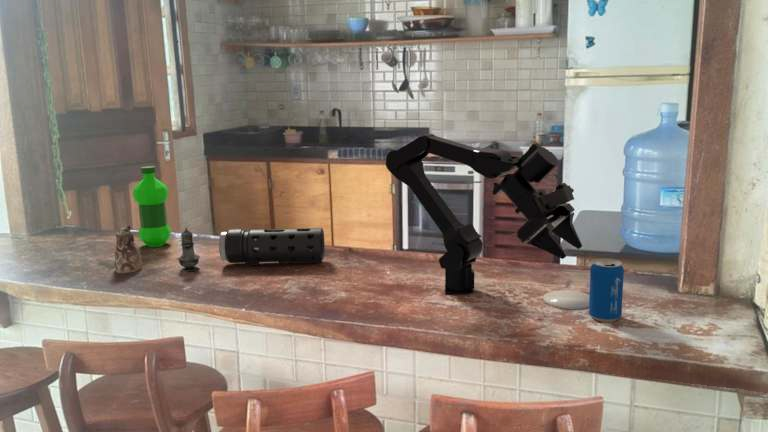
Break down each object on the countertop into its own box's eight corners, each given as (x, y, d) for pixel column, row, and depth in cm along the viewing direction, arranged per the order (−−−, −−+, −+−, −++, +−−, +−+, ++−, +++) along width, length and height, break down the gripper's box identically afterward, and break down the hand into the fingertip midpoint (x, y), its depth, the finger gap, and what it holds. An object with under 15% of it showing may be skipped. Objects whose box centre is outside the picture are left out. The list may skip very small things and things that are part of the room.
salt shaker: (187, 274, 177) (183, 231, 175) (174, 271, 181) (170, 228, 178) (205, 269, 182) (201, 226, 179) (192, 266, 185) (188, 224, 183)
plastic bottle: (162, 249, 205) (154, 169, 200) (132, 248, 207) (123, 169, 202) (179, 241, 214) (171, 165, 209) (150, 240, 217) (142, 164, 212)
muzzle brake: (321, 268, 180) (319, 231, 178) (219, 270, 181) (216, 233, 179) (325, 258, 190) (323, 223, 187) (228, 260, 190) (225, 225, 188)
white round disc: (547, 309, 144) (547, 306, 144) (540, 292, 154) (540, 290, 154) (599, 309, 143) (599, 306, 143) (588, 292, 153) (588, 290, 153)
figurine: (109, 272, 182) (104, 229, 179) (126, 264, 188) (122, 223, 186) (130, 273, 180) (125, 230, 177) (147, 266, 186) (143, 225, 184)
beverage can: (600, 325, 134) (602, 268, 131) (582, 314, 140) (584, 259, 138) (627, 321, 136) (630, 264, 133) (609, 310, 142) (611, 256, 139)
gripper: (532, 178, 132) (584, 238, 127) (566, 166, 146) (615, 220, 142) (496, 213, 138) (545, 272, 134) (532, 198, 153) (578, 251, 148)
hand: (572, 252), depth 139 cm, fingers open, 9 cm apart
